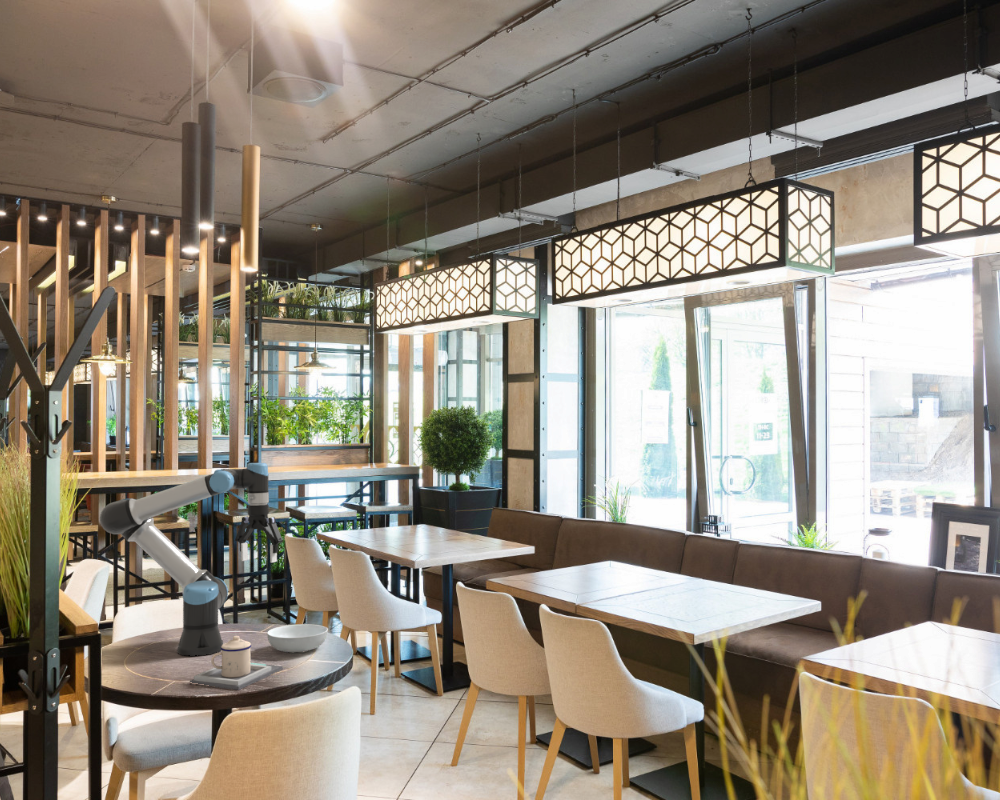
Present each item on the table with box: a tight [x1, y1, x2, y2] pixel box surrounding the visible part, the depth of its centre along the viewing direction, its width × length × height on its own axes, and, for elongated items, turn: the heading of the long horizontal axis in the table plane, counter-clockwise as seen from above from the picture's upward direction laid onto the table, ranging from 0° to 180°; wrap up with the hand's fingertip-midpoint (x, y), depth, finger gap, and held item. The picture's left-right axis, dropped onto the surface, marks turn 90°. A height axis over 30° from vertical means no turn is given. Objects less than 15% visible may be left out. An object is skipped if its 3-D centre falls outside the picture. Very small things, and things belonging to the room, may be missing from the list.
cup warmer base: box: [189, 662, 283, 691], centre depth 255 cm, size 18×22×2 cm
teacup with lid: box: [210, 635, 252, 678], centre depth 254 cm, size 12×9×12 cm
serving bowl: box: [266, 623, 329, 653], centre depth 286 cm, size 21×21×7 cm
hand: (258, 561), depth 302 cm, fingers open, 13 cm apart
